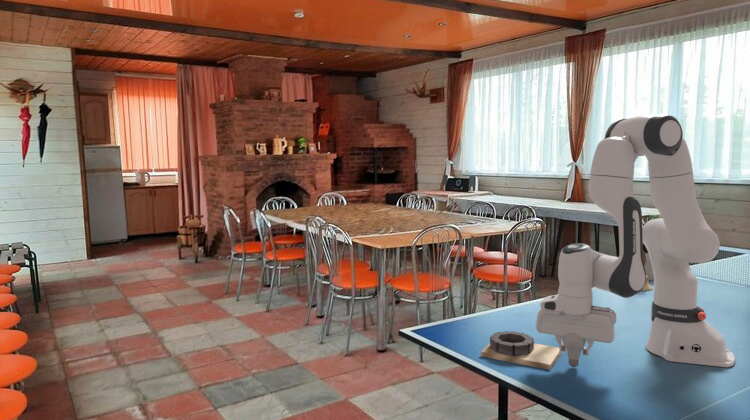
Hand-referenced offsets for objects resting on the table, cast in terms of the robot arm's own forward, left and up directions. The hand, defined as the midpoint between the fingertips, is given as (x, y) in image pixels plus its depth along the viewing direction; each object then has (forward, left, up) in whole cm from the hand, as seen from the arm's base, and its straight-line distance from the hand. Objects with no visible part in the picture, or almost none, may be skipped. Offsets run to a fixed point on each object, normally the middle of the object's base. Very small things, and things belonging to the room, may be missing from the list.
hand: (574, 352), depth 149 cm
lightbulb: (0, 0, -4) cm, 4 cm away
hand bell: (-8, -100, -5) cm, 100 cm away
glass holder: (-6, -123, -5) cm, 123 cm away
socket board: (+15, -3, -5) cm, 16 cm away
